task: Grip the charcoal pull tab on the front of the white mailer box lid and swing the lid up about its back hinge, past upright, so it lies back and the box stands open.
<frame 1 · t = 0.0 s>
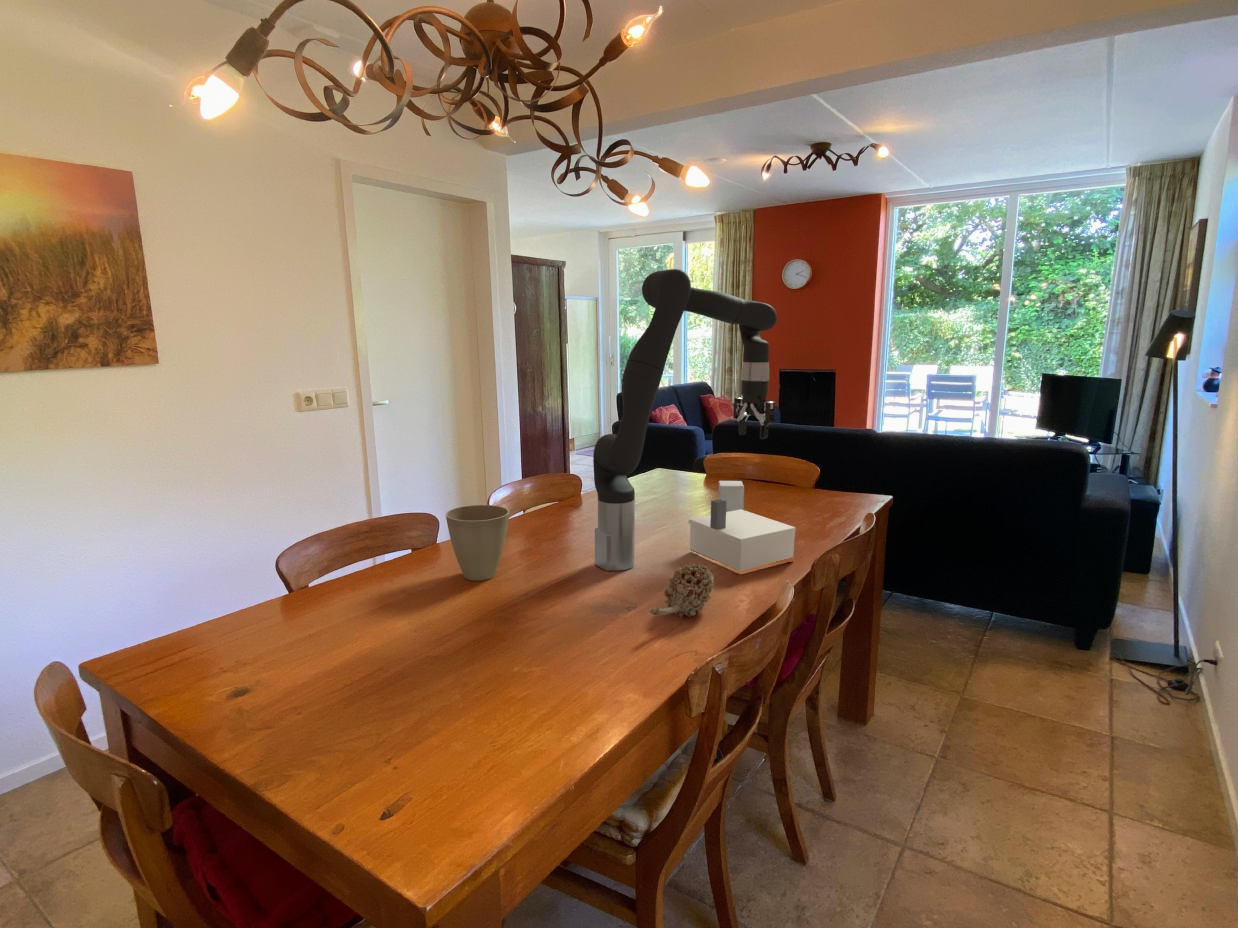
hand: (752, 436, 184), 29 cm above the table, tool pointing down, fingers open, 8 cm apart
plant pot: (480, 576, 159), on the table
mailer lid: (741, 512, 170), point 12 cm above the table, hinge at 0.0°
supplement box: (730, 523, 204), on the table
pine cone: (680, 618, 135), on the table
mailer box: (740, 556, 172), on the table
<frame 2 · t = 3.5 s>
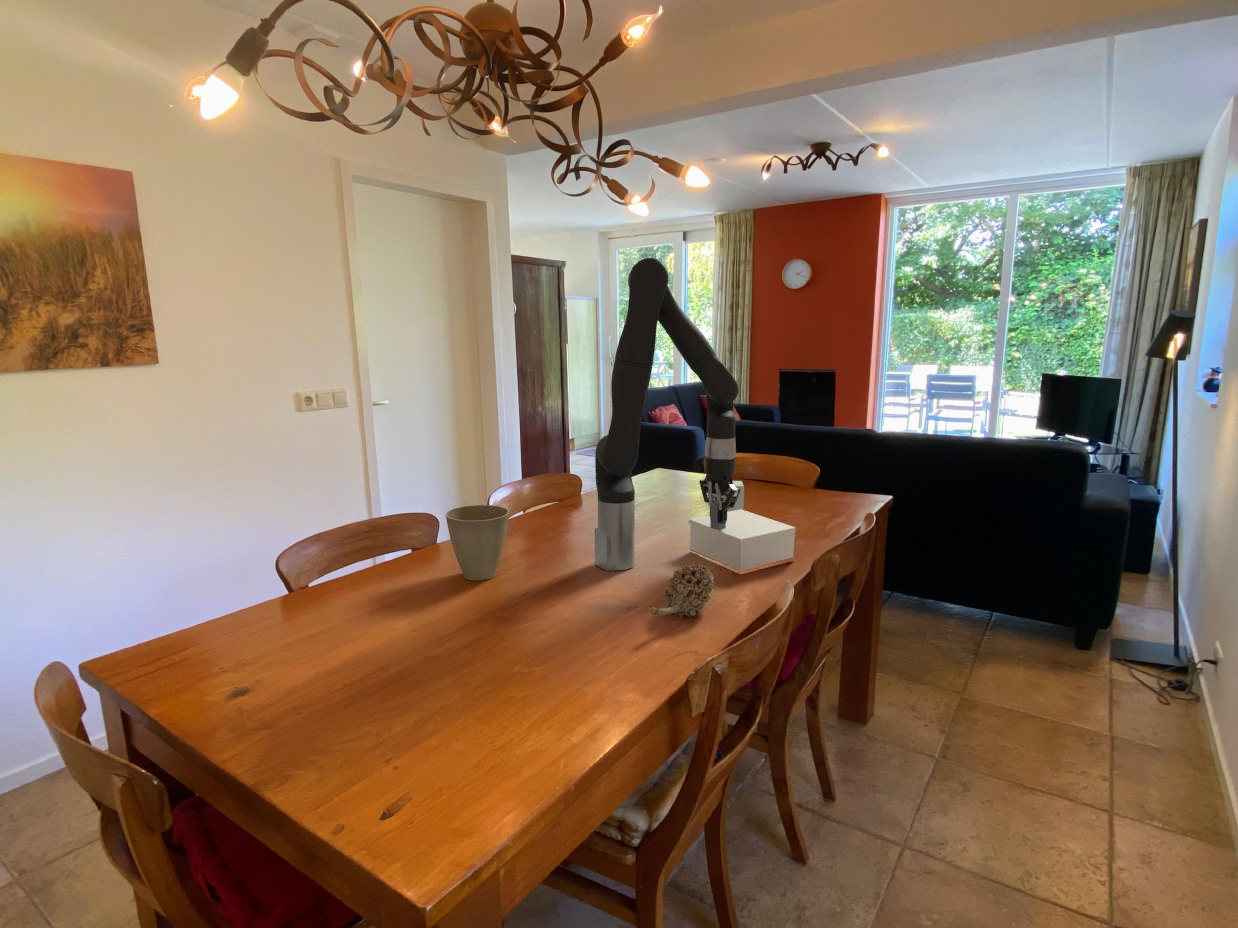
hand: (718, 521, 166), 11 cm above the table, tool pointing down, fingers closed on mailer lid, 2 cm apart
mailer lid: (741, 512, 170), point 12 cm above the table, hinge at 0.0°, touching gripper
everything else where it was.
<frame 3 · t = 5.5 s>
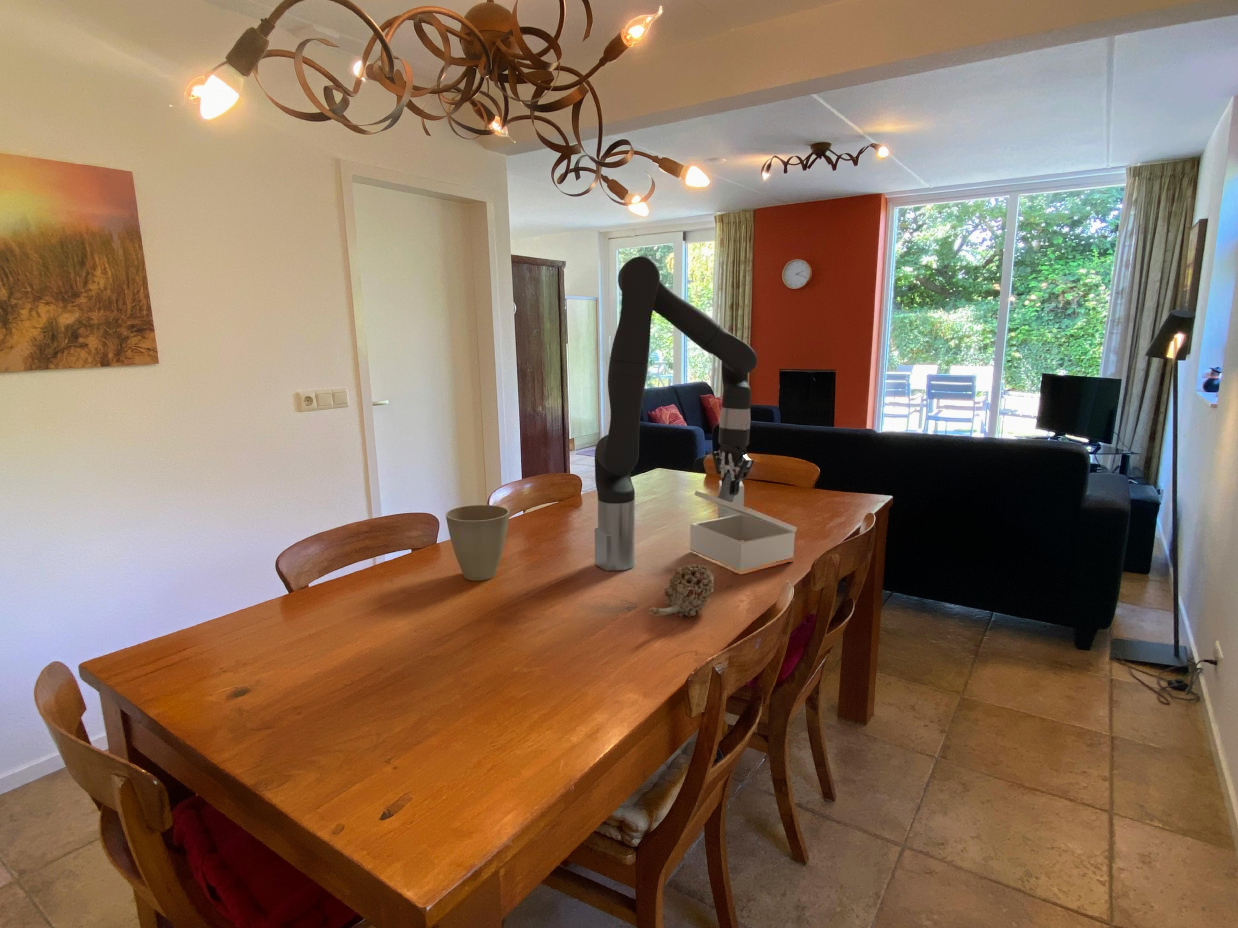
hand: (729, 493, 166), 18 cm above the table, tool pointing down, fingers closed on mailer lid, 2 cm apart
mailer lid: (749, 498, 170), point 16 cm above the table, hinge at 24.3°, touching gripper
everything else where it was.
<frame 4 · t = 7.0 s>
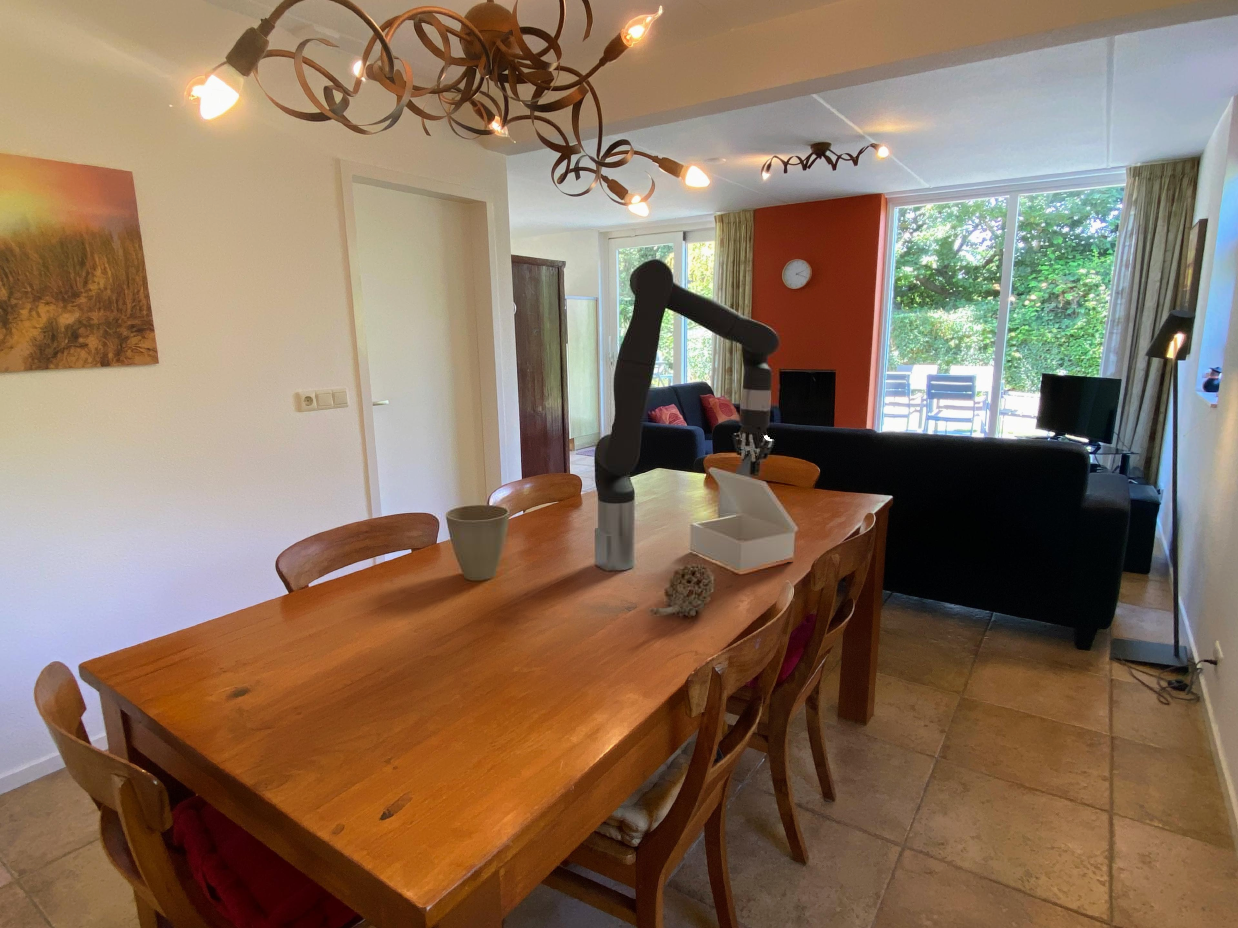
hand: (750, 473, 169), 22 cm above the table, tool pointing down, fingers closed on mailer lid, 2 cm apart
mailer lid: (760, 488, 172), point 18 cm above the table, hinge at 48.2°, touching gripper
everything else where it was.
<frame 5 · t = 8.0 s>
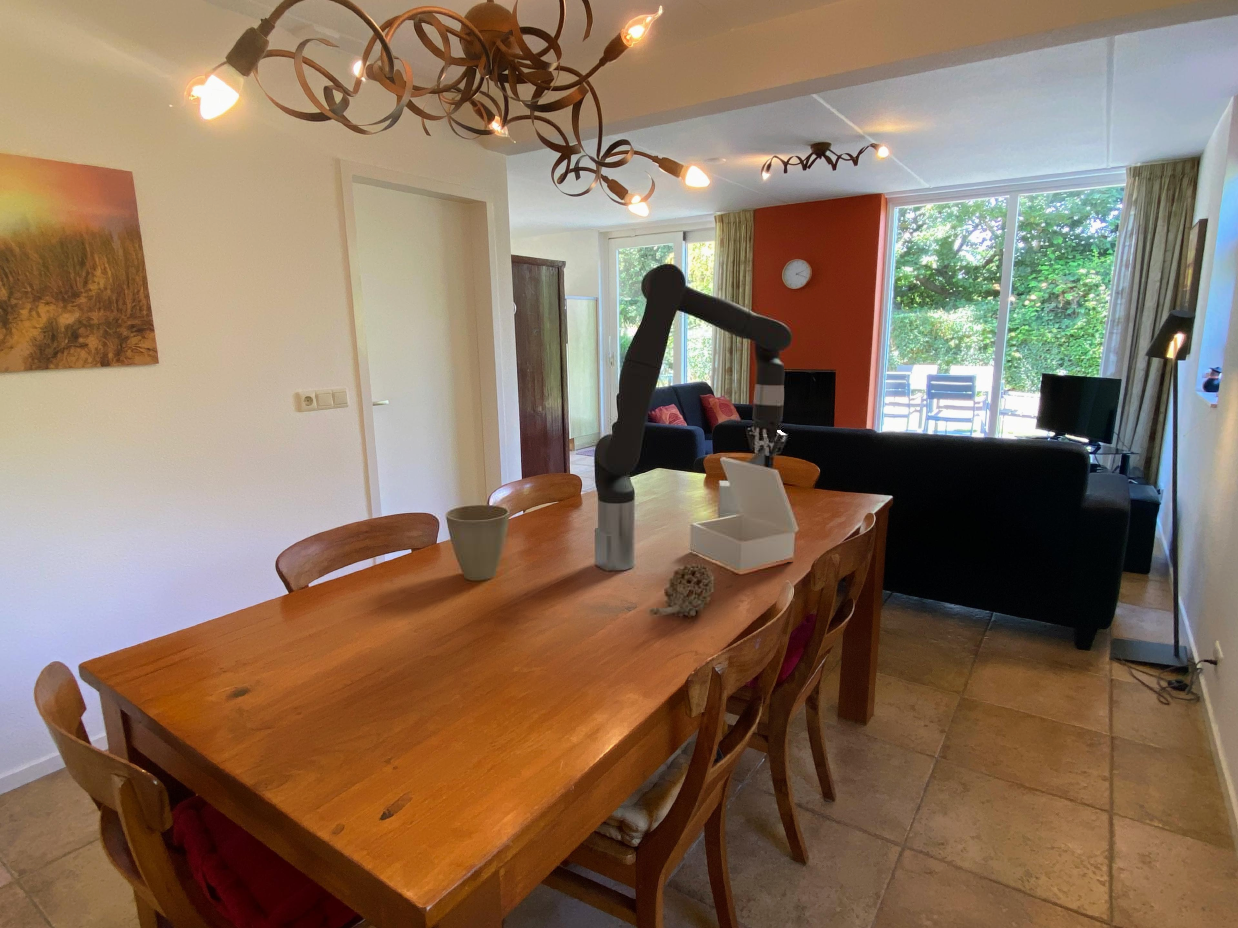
hand: (763, 468, 171), 23 cm above the table, tool pointing down, fingers closed on mailer lid, 2 cm apart
mailer lid: (767, 486, 173), point 18 cm above the table, hinge at 62.8°, touching gripper
everything else where it was.
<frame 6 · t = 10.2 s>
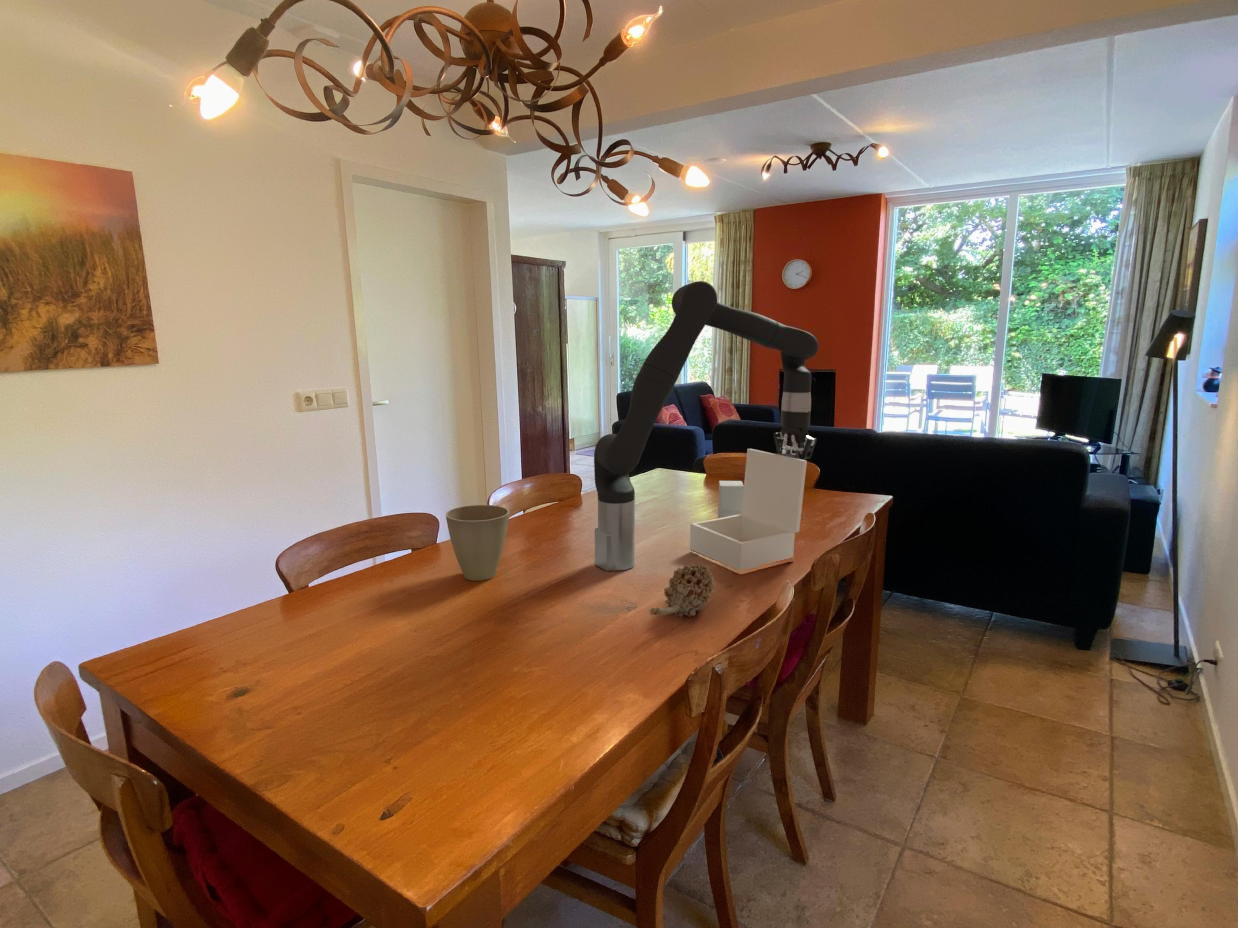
hand: (792, 471, 177), 21 cm above the table, tool pointing down, fingers open, 3 cm apart
mailer lid: (781, 488, 176), point 17 cm above the table, hinge at 94.3°
everything else where it was.
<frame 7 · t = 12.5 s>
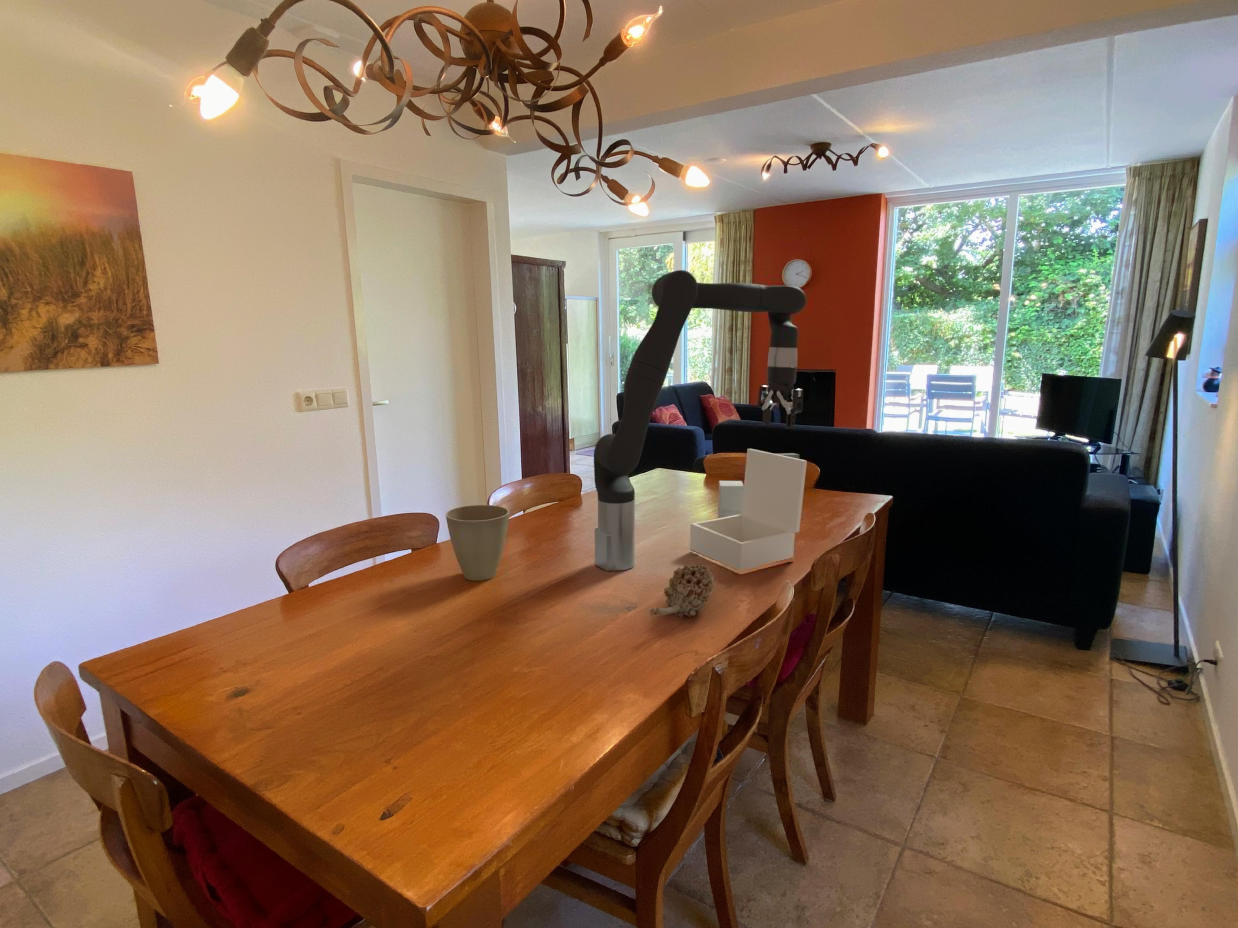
hand: (778, 426, 175), 33 cm above the table, tool pointing down, fingers open, 8 cm apart
nothing on the table moved.
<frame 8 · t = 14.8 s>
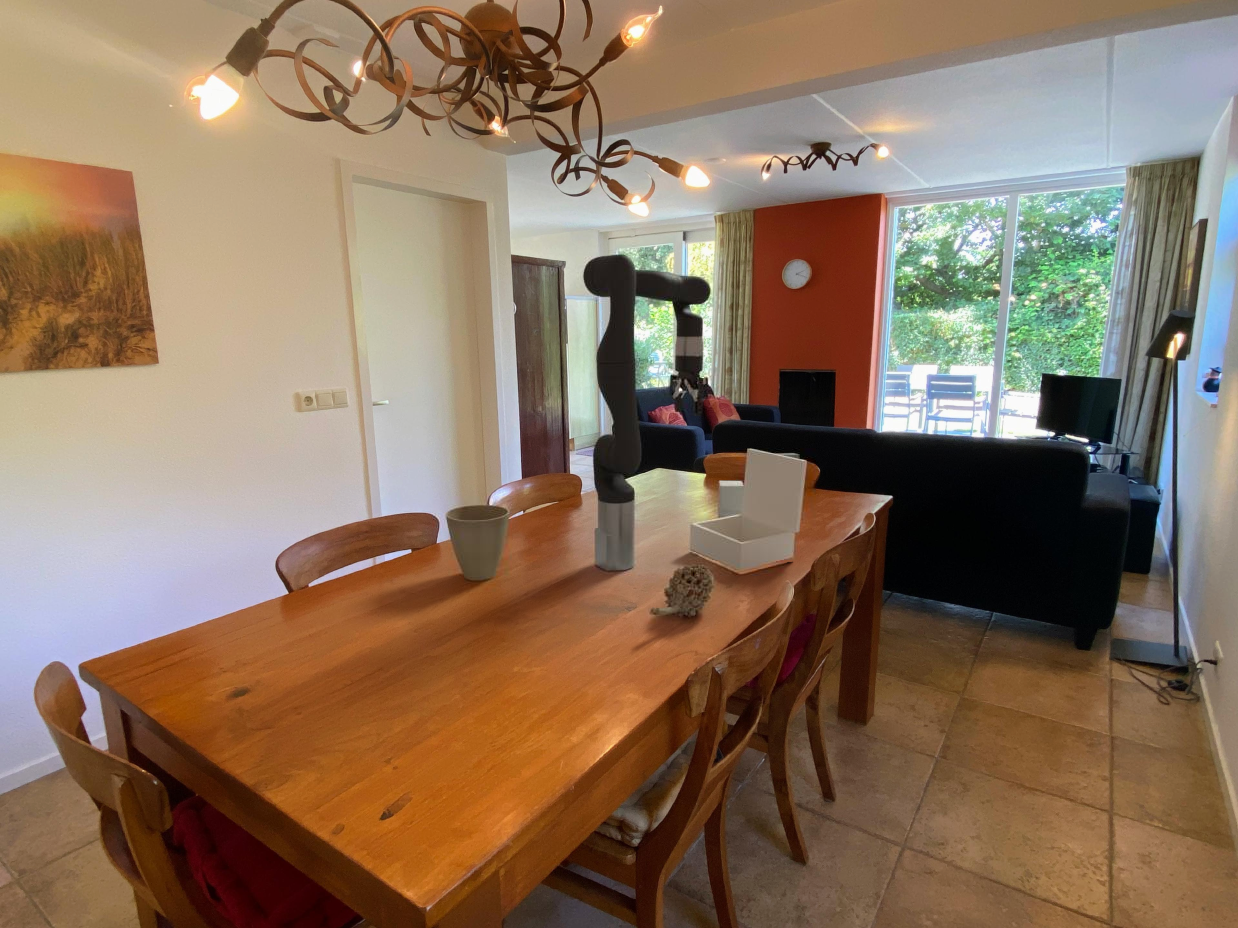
hand: (687, 413, 180), 36 cm above the table, tool pointing down, fingers open, 8 cm apart
nothing on the table moved.
at the end: mailer lid at +94° (first picture: +0°); the gripper is holding nothing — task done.
